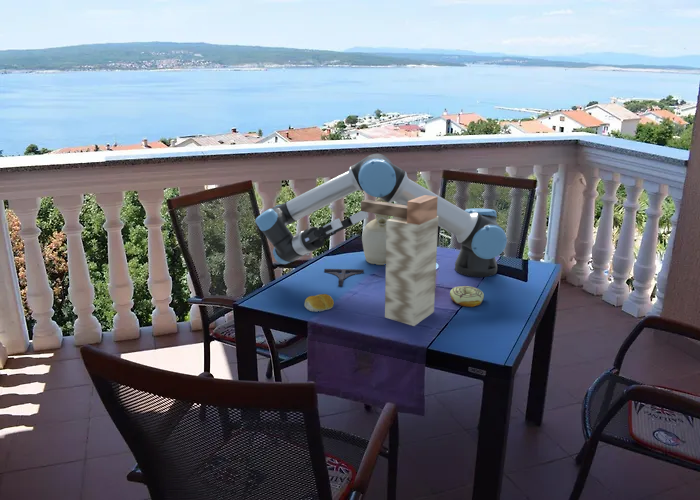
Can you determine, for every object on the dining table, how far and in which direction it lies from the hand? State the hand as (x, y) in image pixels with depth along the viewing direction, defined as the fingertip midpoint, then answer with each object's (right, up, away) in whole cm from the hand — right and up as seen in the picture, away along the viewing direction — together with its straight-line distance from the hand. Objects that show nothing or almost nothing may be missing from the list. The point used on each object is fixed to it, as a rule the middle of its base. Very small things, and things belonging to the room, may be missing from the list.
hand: (353, 217), depth 168 cm
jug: (+11, -14, +45) cm, 48 cm away
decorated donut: (+36, -27, +7) cm, 45 cm away
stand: (+17, -29, -3) cm, 34 cm away
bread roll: (-11, -28, +3) cm, 30 cm away
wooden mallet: (+12, 0, -9) cm, 15 cm away
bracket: (-4, -21, +27) cm, 34 cm away
